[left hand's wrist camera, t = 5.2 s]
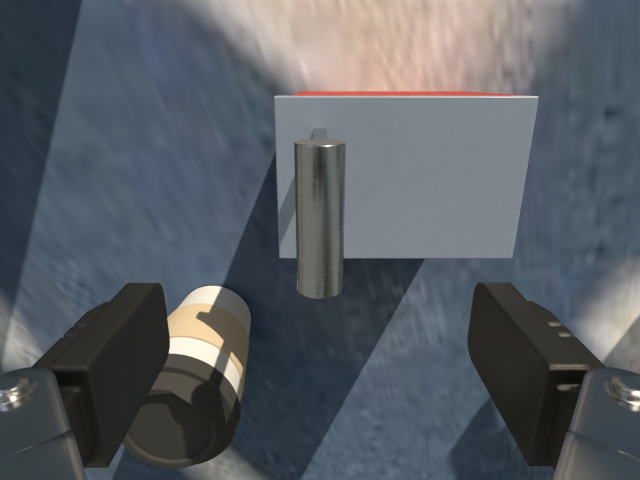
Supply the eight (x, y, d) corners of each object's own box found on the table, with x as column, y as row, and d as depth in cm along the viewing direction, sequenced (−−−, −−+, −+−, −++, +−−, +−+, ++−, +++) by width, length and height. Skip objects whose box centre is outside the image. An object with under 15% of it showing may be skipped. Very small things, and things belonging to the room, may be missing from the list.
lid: (281, 251, 28) (262, 329, 19) (275, 95, 25) (250, 103, 16) (504, 251, 28) (589, 330, 19) (529, 95, 25) (645, 103, 16)
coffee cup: (221, 372, 44) (176, 507, 30) (150, 318, 42) (65, 436, 28) (281, 316, 42) (262, 434, 28) (209, 256, 40) (149, 351, 26)
